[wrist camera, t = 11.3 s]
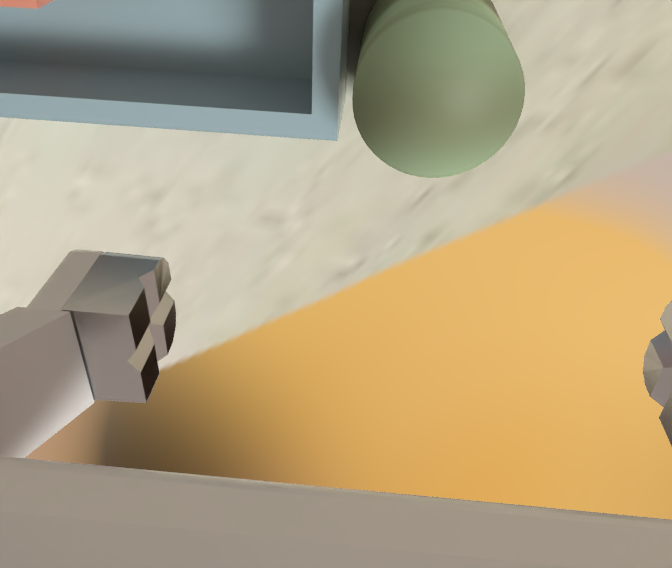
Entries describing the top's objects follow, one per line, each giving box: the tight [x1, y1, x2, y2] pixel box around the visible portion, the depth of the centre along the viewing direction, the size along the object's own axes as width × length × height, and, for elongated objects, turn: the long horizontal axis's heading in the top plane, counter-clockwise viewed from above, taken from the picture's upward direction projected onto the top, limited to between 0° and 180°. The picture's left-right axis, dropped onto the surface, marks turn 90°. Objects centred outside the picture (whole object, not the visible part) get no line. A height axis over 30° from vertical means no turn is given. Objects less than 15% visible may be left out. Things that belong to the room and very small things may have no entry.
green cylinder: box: [353, 0, 525, 178], centre depth 19 cm, size 5×5×5 cm
